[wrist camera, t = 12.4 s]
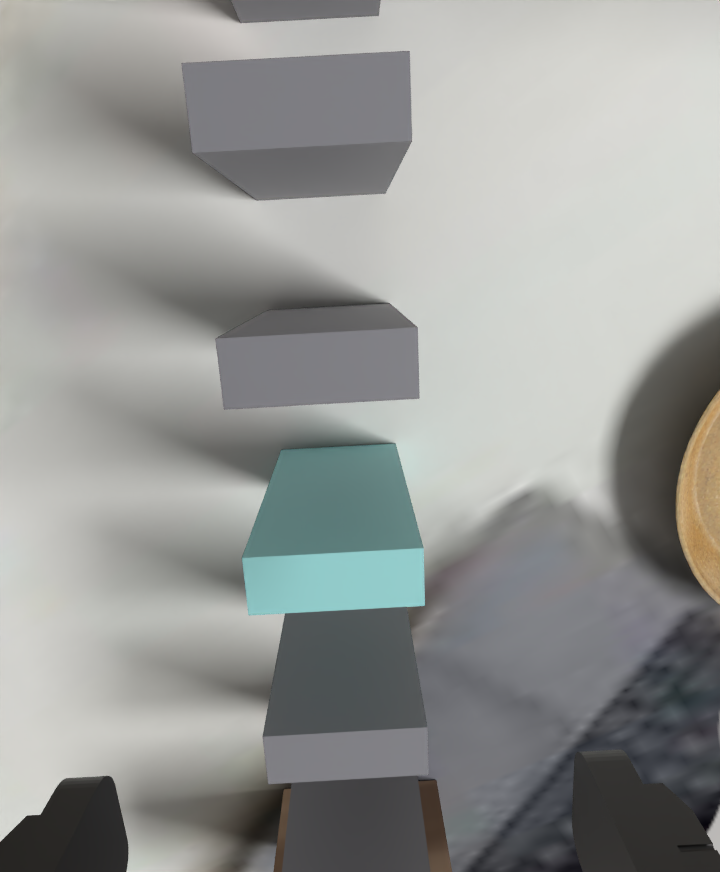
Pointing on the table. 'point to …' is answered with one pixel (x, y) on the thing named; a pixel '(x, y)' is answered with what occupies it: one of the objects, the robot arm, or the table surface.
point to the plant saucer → (702, 500)
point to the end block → (432, 824)
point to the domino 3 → (335, 534)
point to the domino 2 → (319, 357)
